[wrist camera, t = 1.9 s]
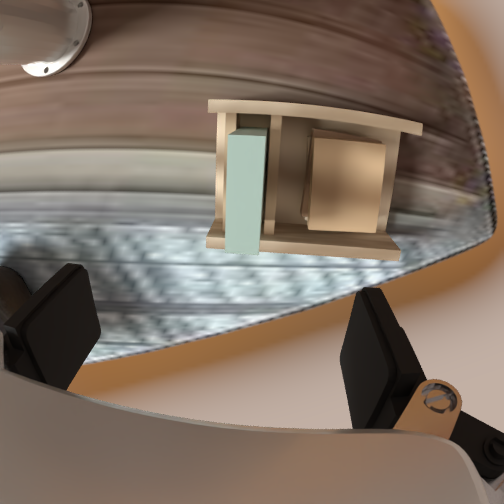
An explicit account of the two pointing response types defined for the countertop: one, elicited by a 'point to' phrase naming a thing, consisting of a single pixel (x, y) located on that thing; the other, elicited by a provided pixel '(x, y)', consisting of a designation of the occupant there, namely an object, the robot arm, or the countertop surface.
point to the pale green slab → (245, 189)
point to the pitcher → (11, 294)
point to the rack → (293, 175)
